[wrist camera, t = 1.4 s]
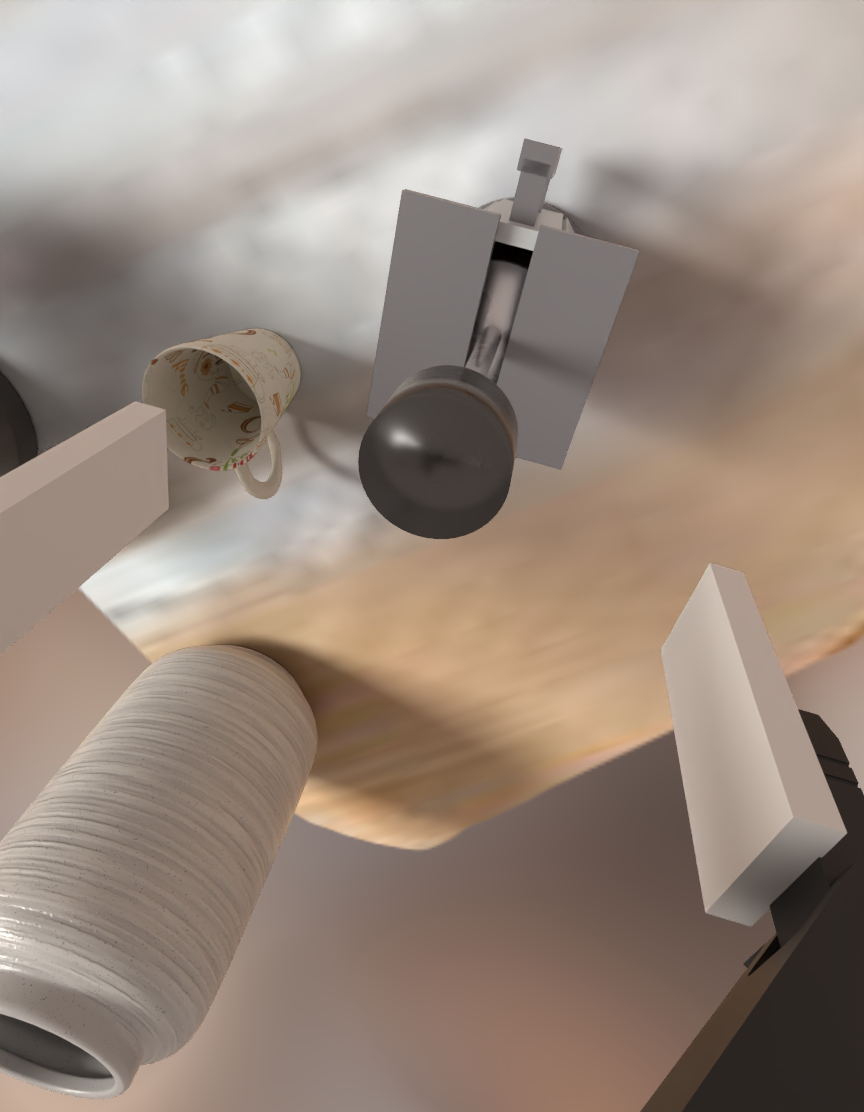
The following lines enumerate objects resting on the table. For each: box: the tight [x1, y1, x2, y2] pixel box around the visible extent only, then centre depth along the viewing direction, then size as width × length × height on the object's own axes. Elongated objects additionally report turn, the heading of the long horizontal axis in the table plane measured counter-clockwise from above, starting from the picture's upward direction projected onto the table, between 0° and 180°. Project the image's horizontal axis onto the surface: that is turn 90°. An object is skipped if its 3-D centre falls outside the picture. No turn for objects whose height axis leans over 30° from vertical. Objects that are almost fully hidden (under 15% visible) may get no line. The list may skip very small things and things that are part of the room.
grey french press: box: [367, 139, 639, 469], centre depth 36 cm, size 11×14×15 cm
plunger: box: [358, 259, 529, 539], centre depth 25 cm, size 7×7×17 cm
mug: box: [141, 328, 301, 499], centre depth 46 cm, size 8×13×10 cm, turn 15°
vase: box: [0, 645, 318, 1099], centre depth 55 cm, size 20×20×34 cm
